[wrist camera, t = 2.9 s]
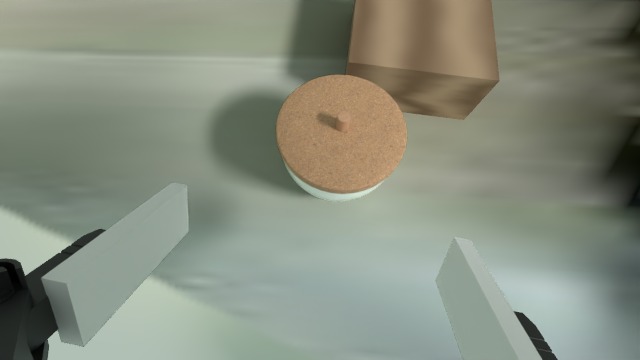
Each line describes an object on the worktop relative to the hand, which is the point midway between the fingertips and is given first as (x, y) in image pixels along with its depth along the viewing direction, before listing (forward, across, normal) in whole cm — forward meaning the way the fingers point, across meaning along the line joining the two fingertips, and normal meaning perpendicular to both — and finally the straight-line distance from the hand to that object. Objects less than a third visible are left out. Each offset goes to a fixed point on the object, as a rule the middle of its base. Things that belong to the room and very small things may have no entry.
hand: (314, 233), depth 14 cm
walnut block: (+28, +6, +8) cm, 29 cm away
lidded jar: (+17, 0, -3) cm, 17 cm away
